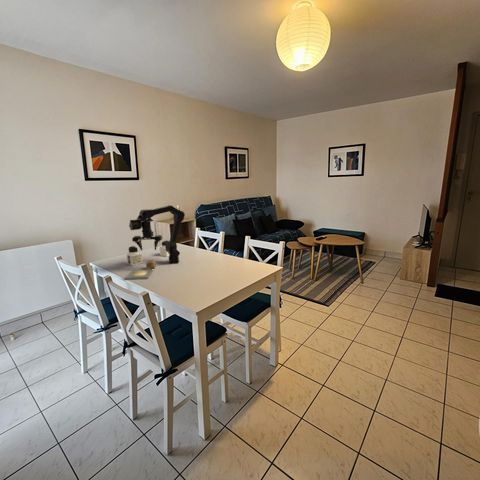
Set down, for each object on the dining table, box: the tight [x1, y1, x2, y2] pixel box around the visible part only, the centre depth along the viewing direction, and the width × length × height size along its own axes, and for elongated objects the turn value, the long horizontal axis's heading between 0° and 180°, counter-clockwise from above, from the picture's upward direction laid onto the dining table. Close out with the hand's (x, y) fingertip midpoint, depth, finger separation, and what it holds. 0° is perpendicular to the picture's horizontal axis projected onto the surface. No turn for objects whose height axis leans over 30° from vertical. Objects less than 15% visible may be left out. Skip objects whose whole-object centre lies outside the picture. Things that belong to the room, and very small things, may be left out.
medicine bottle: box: [159, 240, 170, 258], centre depth 212 cm, size 7×7×12 cm
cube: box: [145, 260, 157, 270], centre depth 182 cm, size 5×5×5 cm
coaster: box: [124, 269, 154, 281], centre depth 169 cm, size 14×14×1 cm
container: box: [125, 245, 143, 267], centre depth 191 cm, size 8×8×13 cm
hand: (148, 250), depth 180 cm, fingers open, 9 cm apart
